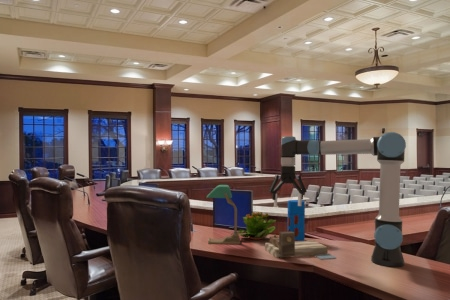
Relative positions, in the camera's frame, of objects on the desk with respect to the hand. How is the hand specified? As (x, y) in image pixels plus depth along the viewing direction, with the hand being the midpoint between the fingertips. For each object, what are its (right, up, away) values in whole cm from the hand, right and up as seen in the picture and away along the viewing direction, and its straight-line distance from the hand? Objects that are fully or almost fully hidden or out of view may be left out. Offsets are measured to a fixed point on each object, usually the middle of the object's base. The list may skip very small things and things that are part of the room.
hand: (287, 206), depth 186 cm
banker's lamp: (-34, -28, +32) cm, 55 cm away
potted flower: (-12, -28, +45) cm, 55 cm away
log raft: (+6, -27, +11) cm, 30 cm away
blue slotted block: (+12, -28, +40) cm, 51 cm away
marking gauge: (-3, -25, +5) cm, 26 cm away
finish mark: (+20, -27, +1) cm, 34 cm away
